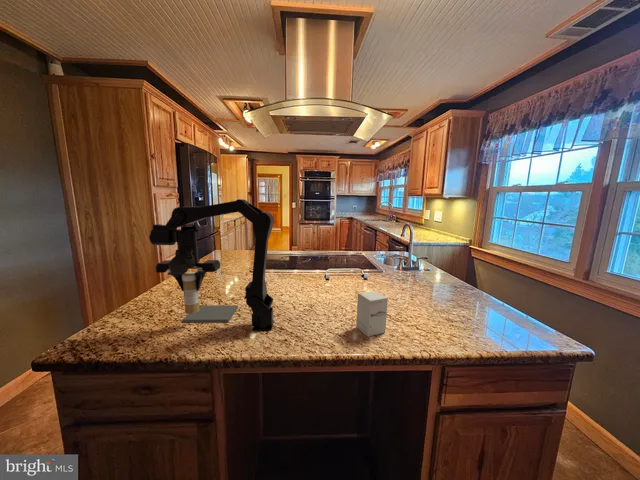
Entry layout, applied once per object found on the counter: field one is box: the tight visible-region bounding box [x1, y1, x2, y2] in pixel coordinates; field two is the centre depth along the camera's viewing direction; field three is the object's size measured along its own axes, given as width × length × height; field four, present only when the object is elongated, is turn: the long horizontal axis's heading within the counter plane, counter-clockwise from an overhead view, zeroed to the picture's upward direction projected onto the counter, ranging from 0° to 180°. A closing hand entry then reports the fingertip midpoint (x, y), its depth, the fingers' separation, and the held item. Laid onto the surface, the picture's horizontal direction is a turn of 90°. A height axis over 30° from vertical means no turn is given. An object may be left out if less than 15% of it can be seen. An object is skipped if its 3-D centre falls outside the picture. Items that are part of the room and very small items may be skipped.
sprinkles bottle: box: [182, 271, 200, 315], centre depth 84 cm, size 5×5×13 cm
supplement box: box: [355, 290, 389, 338], centre depth 84 cm, size 7×7×13 cm
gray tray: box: [182, 304, 239, 323], centre depth 94 cm, size 16×12×1 cm
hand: (190, 290), depth 84 cm, fingers closed on sprinkles bottle, 4 cm apart
